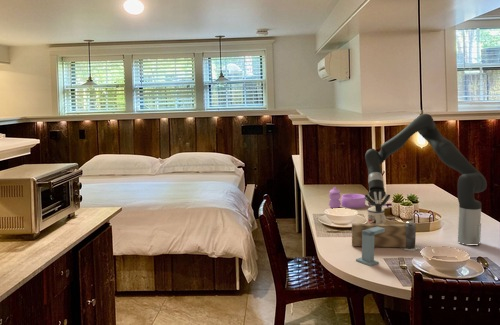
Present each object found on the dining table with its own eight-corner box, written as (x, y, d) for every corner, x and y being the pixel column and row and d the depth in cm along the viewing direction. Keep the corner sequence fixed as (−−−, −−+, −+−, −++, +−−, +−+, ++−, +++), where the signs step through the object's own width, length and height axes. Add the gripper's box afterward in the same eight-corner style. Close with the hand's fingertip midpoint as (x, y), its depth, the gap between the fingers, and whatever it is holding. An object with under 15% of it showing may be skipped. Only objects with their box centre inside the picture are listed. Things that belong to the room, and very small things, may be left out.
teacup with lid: (363, 224, 245) (364, 204, 244) (376, 222, 249) (376, 202, 247) (378, 229, 234) (379, 208, 233) (391, 227, 238) (392, 206, 237)
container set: (357, 202, 300) (357, 183, 299) (369, 207, 286) (370, 186, 284) (324, 205, 293) (324, 185, 291) (335, 210, 278) (335, 190, 277)
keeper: (373, 255, 196) (373, 225, 195) (388, 259, 190) (388, 229, 188) (355, 260, 190) (356, 230, 188) (370, 266, 183) (371, 234, 182)
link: (414, 244, 207) (414, 224, 206) (416, 248, 202) (416, 227, 201) (351, 243, 212) (351, 222, 211) (352, 246, 207) (352, 225, 206)
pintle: (417, 244, 209) (418, 219, 207) (421, 250, 200) (422, 224, 199) (397, 244, 210) (398, 219, 209) (401, 250, 202) (401, 224, 200)
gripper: (388, 186, 232) (391, 215, 222) (362, 187, 235) (364, 215, 224) (390, 178, 227) (393, 208, 216) (363, 178, 229) (365, 207, 218)
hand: (378, 211), depth 220 cm, fingers closed
